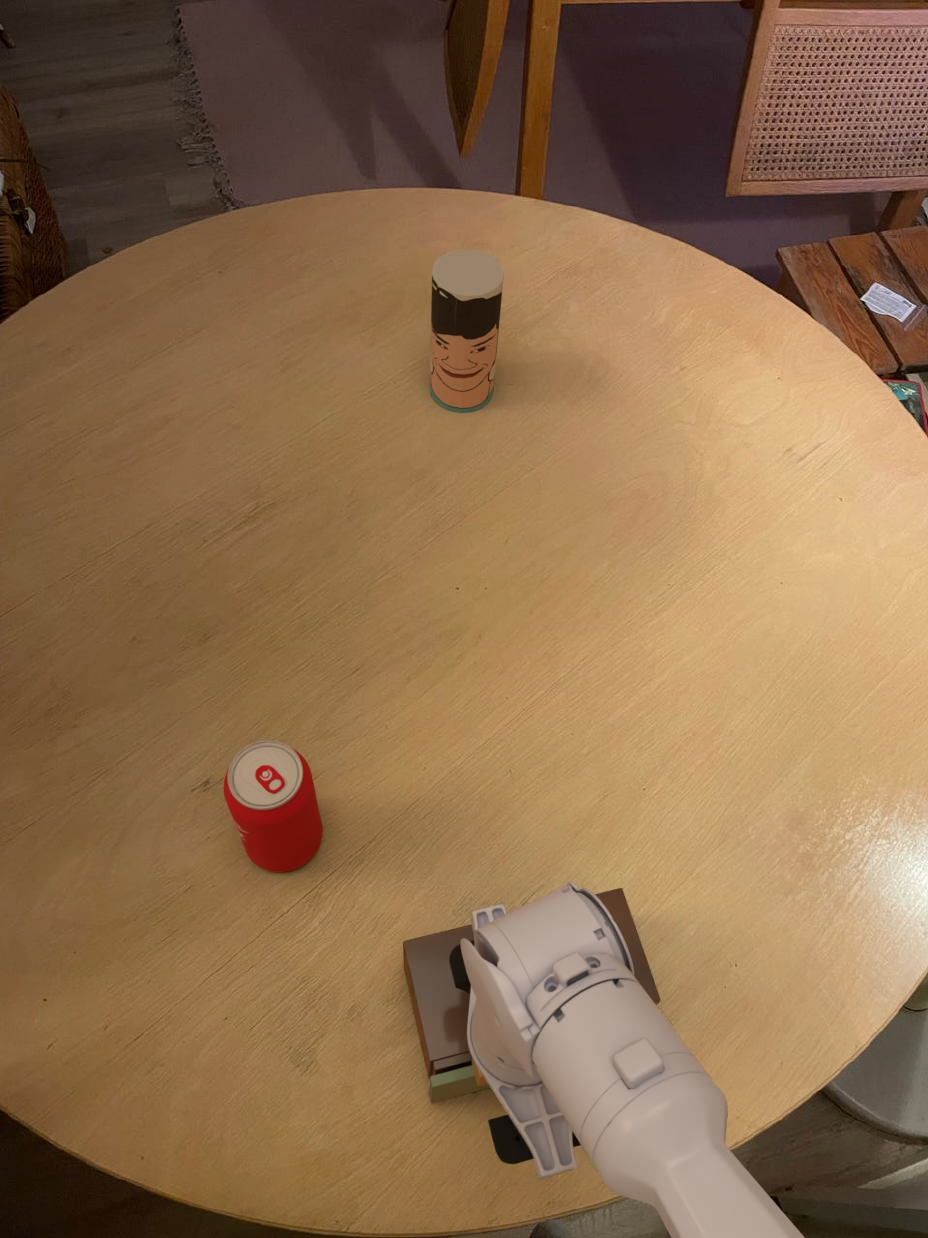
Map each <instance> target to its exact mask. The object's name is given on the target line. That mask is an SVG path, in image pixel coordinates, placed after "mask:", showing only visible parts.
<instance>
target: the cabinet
mask: <svg viewBox="0 0 928 1238" xmlns="http://www.w3.org/2000/svg"><path fill="white" fill-rule="evenodd" d="M594 894H595V895H596V896H597V897H598V898H599V899H600V901H601V902H602V903H603V904H604V906H605V907H606V908H607V910H608V911H609V913H610V914H611V916H612V917H613V920H614V921H615V923H616V924H617V926H618V928H619V930H620V932H621V934H622V936H623V938H624V940H625V943H626V945H627V947H628V950H629V953H630V956H631V959H632V963H633V967H634V977H635V978H636V979H637V981H638V982H639V983H640V985H641V986H642V987H643V989H644V990H645V991H646V993H647V994H648V995H649V997H650V998H651V999H652V1000H653V1002H654V1003H655V1004H656V1006H658V1005H659V1003H660V1002H661V996H660V993H659V991H658V988H657V985H656V982H655V979H654V975H653V973H652V970H651V968H650V965H649V961H648V958H647V956H646V953H645V950H644V947H643V944H642V941H641V939H640V936H639V933H638V930H637V926H636V924H635V921H634V919H633V918H634V917H633V916H632V915H633V914H632V912H631V909H630V907H629V904H628V900H627V898H626V895H625V892H624V890H623V887H619V888H614V889H611V890H606V891H602V892H598V893H594ZM462 938H465V939H467V940H468V941H473V940H474V932H473V929H472V925H471V924H468V925H464V926H463V925H462V926H460V927H455V928H452V929H447V930H443V931H438V932H435V933H431V934H426V935H424V936H423V935H422V936H419V937H415V938H410V939H407V940H406V939H405V940H403V941H402V947H403V949H402V950H403V951H402V952H403V954H402V955H403V971H404V975H405V980H406V984H407V988H408V989H407V990H408V992H409V997H410V1001H411V1006H412V1011H413V1015H414V1021H415V1025H416V1030H417V1034H418V1038H419V1039H418V1040H419V1043H420V1047H421V1051H422V1052H421V1053H422V1056H423V1061H424V1065H425V1070H426V1074H427V1078H428V1080H430V1076H433V1075H437V1074H441V1073H444V1072H448V1071H452V1070H456V1069H459V1068H463V1067H467V1066H471V1065H472V1056H471V1053H470V1050H469V1047H468V1041H467V1023H468V1012H469V1001H470V994H469V993H467V992H465V991H463V990H461V989H457V988H456V987H455V983H454V979H453V975H452V971H451V967H450V963H449V958H450V954H451V951H452V950H453V949H454V947H456V946H457V945H459V944H460V942H461V939H462Z"/></svg>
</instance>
